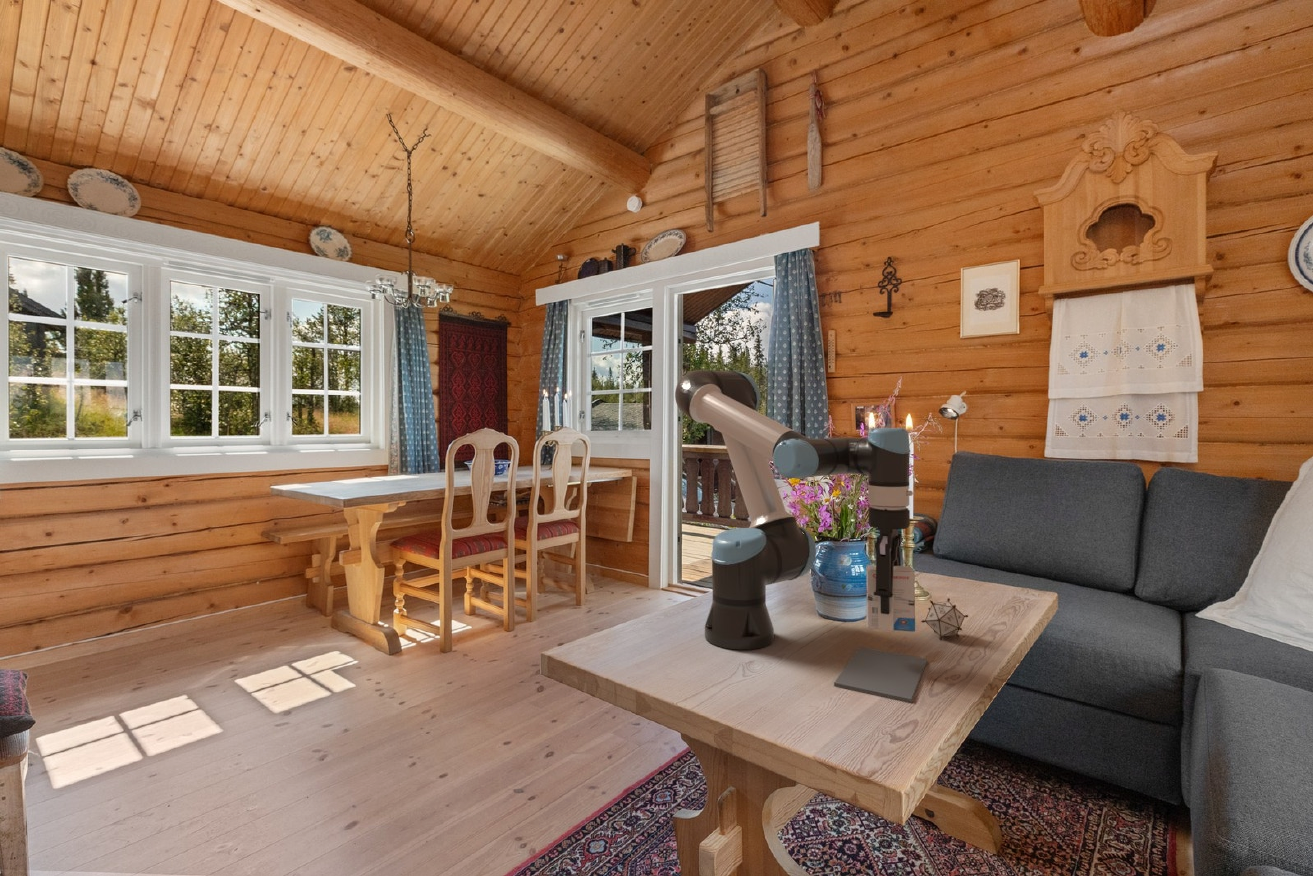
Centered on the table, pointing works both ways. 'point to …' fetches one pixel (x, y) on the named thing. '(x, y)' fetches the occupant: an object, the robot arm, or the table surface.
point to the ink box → (902, 598)
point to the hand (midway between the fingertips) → (889, 624)
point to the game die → (944, 618)
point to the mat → (882, 674)
